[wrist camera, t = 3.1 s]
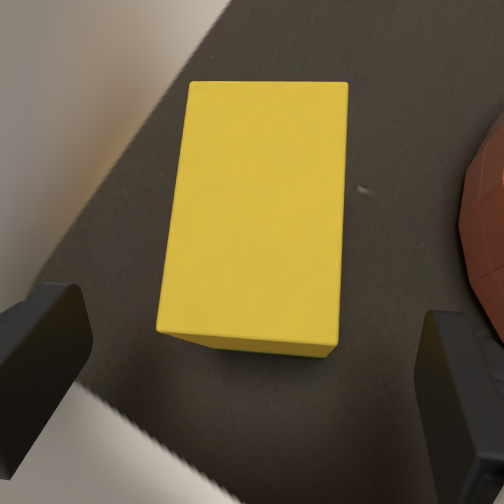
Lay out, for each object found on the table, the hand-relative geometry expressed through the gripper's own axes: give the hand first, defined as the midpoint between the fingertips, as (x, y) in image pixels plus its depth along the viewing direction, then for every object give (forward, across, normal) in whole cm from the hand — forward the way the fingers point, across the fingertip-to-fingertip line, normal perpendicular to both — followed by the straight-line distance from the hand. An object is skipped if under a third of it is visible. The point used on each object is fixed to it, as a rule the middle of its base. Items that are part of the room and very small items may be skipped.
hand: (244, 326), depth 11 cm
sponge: (+8, 0, +4) cm, 9 cm away
